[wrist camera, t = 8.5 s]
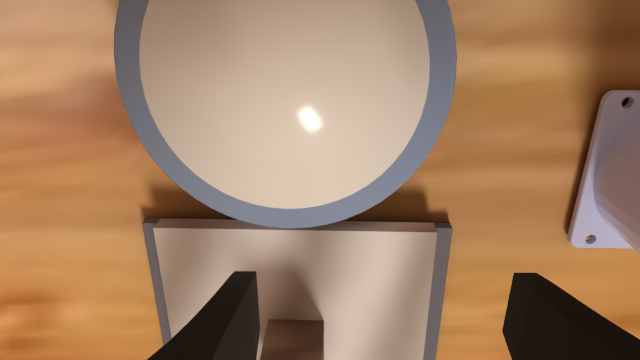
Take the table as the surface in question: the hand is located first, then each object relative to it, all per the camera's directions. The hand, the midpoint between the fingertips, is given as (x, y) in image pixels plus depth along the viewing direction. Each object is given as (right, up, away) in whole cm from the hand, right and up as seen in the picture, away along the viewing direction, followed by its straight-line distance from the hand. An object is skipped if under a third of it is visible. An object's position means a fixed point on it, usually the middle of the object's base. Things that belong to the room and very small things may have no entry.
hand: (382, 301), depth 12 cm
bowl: (-3, +9, +8) cm, 12 cm away
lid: (-3, -5, +13) cm, 14 cm away
